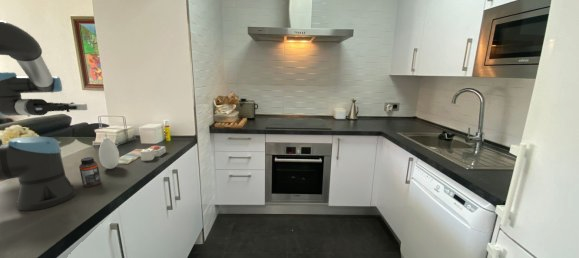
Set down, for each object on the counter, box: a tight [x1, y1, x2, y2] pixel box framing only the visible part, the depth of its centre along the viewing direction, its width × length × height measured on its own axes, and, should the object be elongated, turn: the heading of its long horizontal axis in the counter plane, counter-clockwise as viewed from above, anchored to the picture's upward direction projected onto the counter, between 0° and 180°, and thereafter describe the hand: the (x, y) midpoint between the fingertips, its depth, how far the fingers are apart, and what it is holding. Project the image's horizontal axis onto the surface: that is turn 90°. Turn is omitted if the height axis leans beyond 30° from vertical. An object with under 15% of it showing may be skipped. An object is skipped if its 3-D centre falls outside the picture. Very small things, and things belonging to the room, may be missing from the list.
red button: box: [149, 145, 160, 150], centre depth 140 cm, size 5×5×3 cm
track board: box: [116, 148, 144, 166], centre depth 136 cm, size 24×9×1 cm, turn 2°
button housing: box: [147, 145, 167, 158], centre depth 140 cm, size 8×8×4 cm
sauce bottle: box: [98, 132, 120, 170], centre depth 117 cm, size 8×8×18 cm
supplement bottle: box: [78, 156, 102, 188], centre depth 101 cm, size 6×6×11 cm
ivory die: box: [140, 148, 155, 162], centre depth 132 cm, size 5×5×5 cm
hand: (85, 107), depth 113 cm, fingers closed
